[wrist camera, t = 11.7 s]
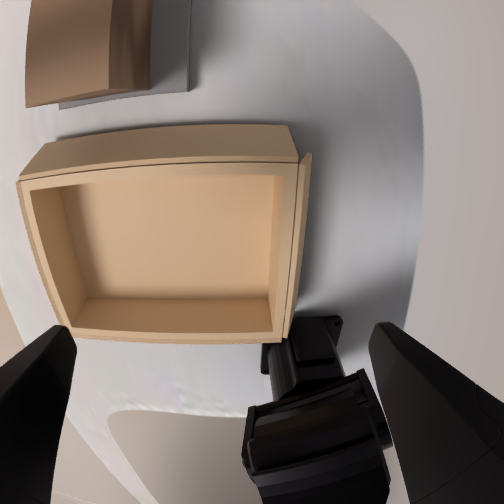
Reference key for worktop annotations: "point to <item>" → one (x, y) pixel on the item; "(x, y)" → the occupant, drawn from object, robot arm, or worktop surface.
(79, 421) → the worktop surface
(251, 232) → the carton
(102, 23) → the block
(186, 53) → the mat
